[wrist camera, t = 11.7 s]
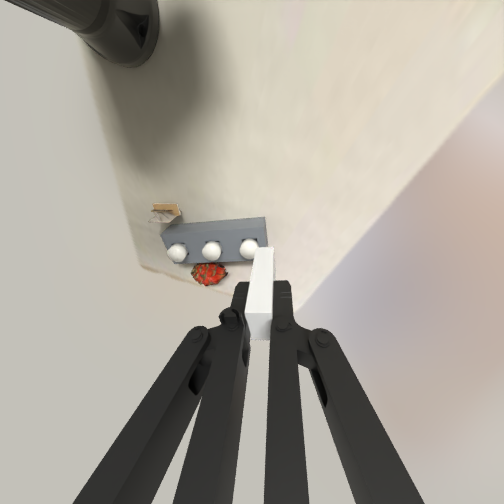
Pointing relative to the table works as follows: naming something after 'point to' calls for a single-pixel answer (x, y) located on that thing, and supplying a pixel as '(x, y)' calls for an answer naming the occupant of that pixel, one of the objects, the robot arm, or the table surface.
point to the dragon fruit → (208, 273)
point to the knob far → (177, 252)
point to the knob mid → (212, 250)
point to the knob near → (249, 248)
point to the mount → (216, 238)
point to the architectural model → (165, 212)
